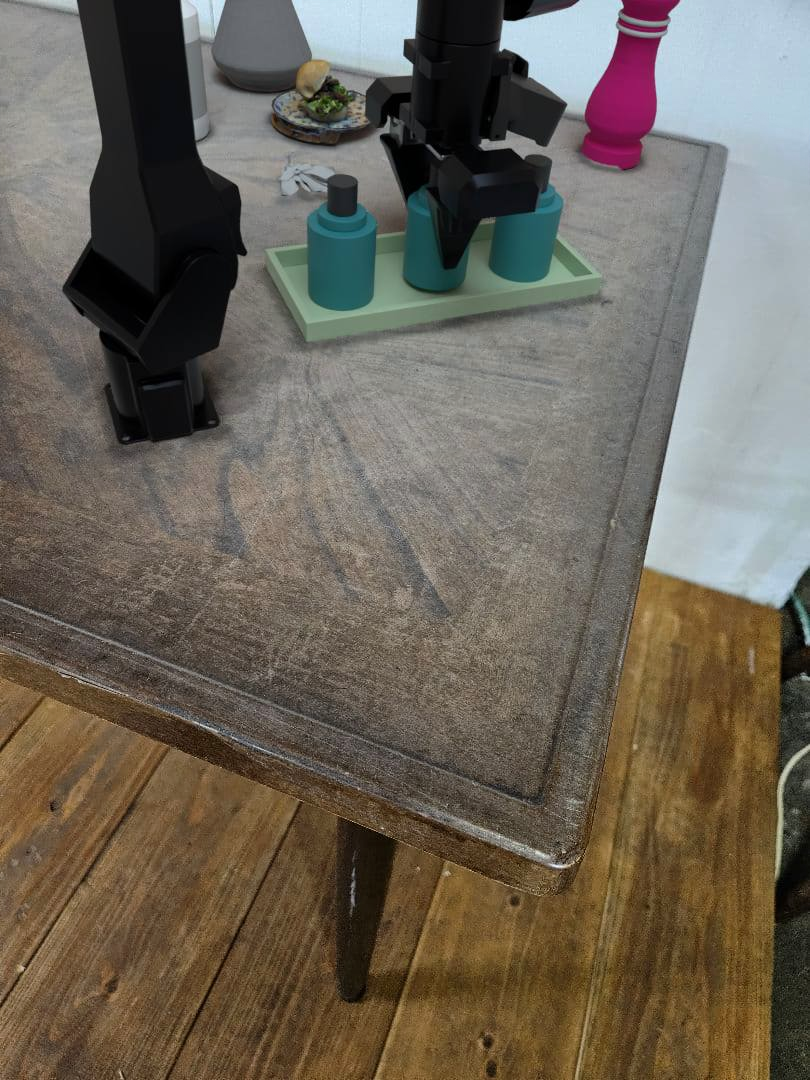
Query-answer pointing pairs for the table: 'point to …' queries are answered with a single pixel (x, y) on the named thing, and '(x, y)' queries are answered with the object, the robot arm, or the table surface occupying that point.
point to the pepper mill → (627, 86)
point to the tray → (415, 305)
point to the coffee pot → (260, 44)
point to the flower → (304, 177)
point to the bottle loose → (427, 244)
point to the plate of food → (318, 106)
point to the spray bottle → (195, 69)
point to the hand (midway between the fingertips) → (435, 251)
